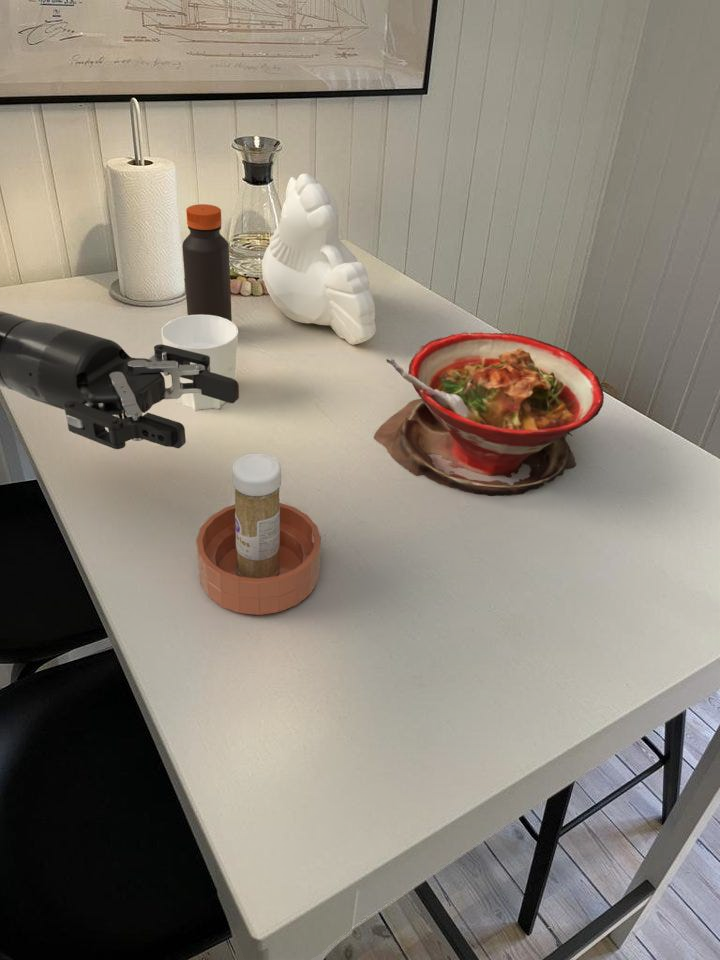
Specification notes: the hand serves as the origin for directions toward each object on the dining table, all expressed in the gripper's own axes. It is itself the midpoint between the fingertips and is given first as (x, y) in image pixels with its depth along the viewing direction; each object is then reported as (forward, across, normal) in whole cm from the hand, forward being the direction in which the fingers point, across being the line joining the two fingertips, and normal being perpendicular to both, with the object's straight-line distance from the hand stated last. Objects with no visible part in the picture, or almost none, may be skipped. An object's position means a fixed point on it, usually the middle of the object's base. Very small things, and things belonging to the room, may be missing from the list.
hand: (211, 413), depth 66 cm
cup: (-21, +29, +19) cm, 41 cm away
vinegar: (-30, +45, +19) cm, 57 cm away
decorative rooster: (-17, +57, +19) cm, 62 cm away
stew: (+18, +34, +20) cm, 43 cm away
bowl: (+4, +2, +19) cm, 20 cm away
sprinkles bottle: (+4, +2, +19) cm, 19 cm away
